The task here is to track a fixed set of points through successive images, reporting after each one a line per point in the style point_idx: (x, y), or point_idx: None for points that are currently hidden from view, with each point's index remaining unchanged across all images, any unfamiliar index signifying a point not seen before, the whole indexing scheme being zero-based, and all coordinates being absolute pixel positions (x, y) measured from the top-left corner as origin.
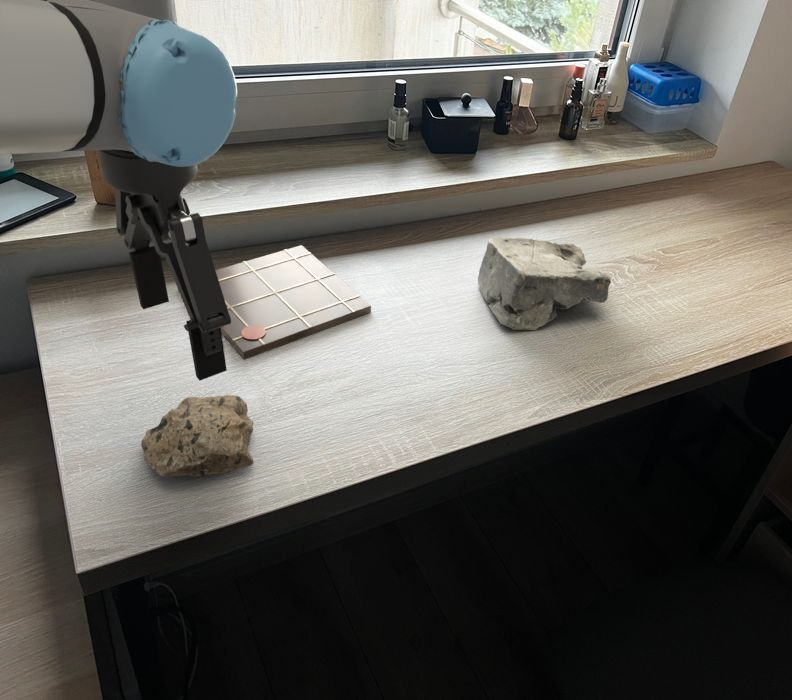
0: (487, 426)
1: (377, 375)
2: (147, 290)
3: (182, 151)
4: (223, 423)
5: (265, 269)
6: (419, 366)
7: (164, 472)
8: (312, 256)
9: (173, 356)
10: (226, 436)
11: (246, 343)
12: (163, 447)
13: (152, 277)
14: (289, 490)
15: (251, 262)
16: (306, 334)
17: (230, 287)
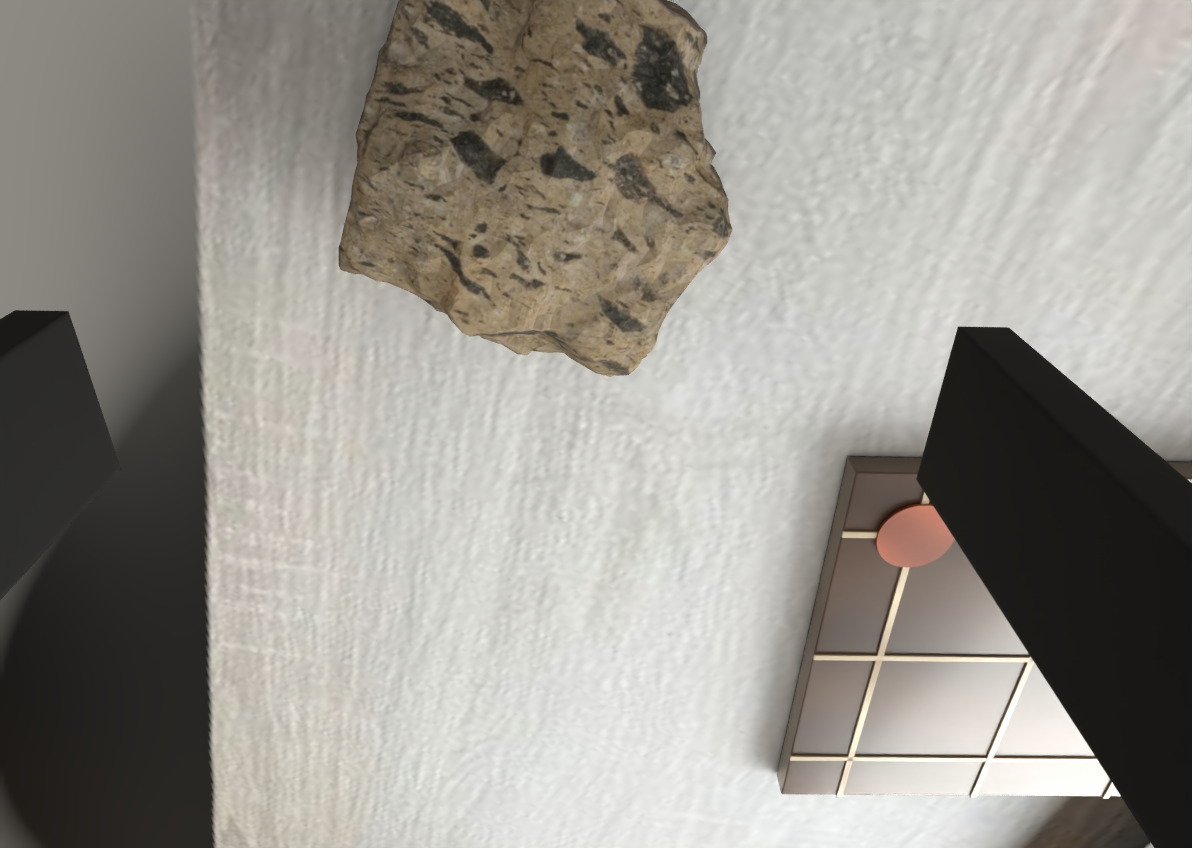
0: (244, 753)
1: (545, 676)
2: (1009, 447)
3: None
4: (482, 273)
5: None
6: (515, 754)
7: None
8: (1088, 792)
9: (1034, 288)
10: (417, 252)
11: (887, 497)
12: (538, 34)
13: (1045, 561)
14: (243, 302)
15: None
16: (810, 630)
17: None
